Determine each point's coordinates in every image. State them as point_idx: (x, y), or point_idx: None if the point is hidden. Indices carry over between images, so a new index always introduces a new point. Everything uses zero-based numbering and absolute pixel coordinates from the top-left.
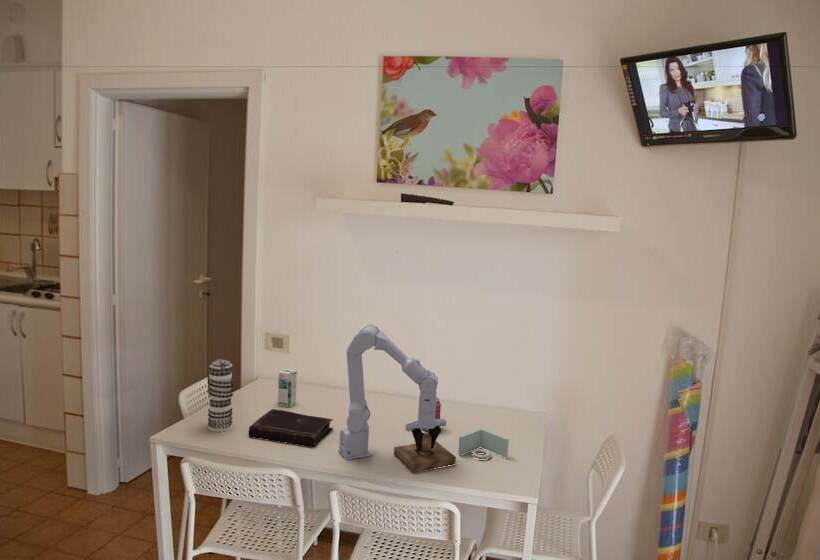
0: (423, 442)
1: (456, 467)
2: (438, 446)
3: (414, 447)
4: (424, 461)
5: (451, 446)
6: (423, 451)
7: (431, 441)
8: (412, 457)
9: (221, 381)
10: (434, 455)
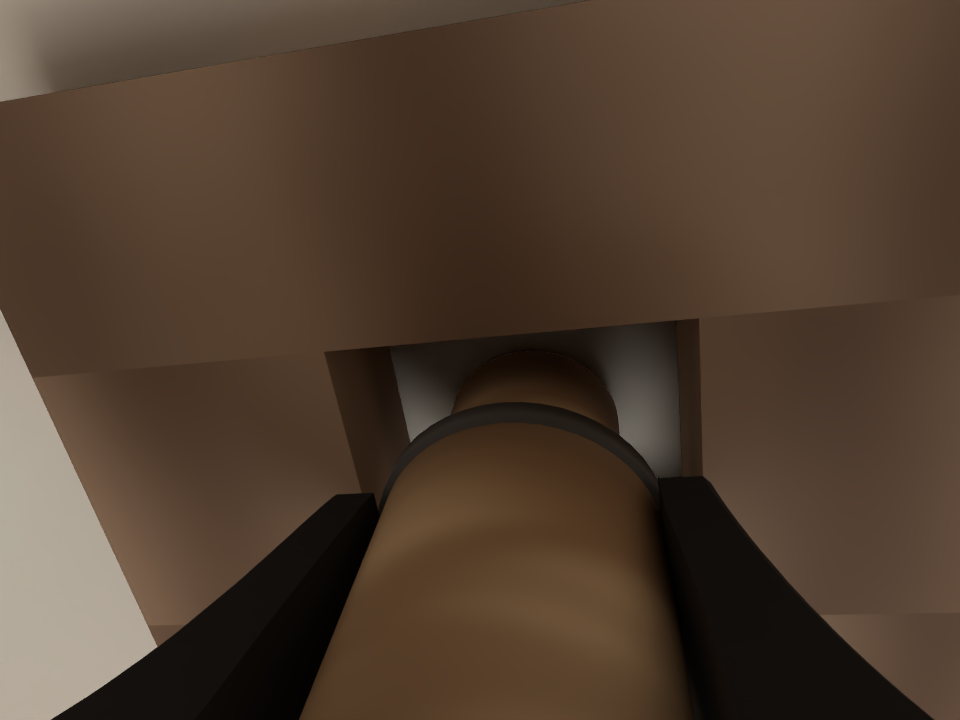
0: (621, 618)
1: (38, 9)
2: (200, 599)
3: None
4: (753, 29)
5: (39, 643)
6: (604, 434)
7: (324, 644)
8: (929, 326)
9: None
10: (373, 298)
